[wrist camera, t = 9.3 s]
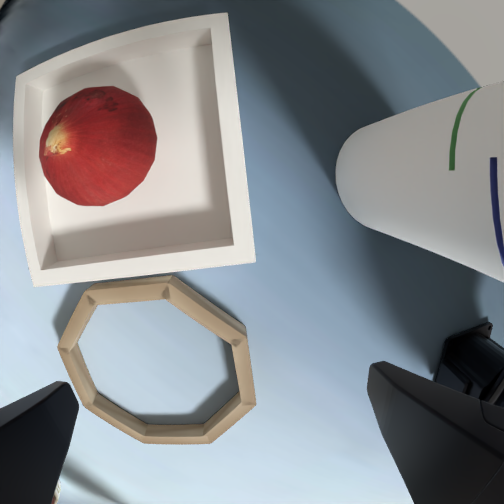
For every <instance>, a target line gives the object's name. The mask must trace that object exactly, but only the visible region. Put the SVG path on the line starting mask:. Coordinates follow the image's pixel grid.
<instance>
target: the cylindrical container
mask: <svg viewBox="0 0 504 504" xmlns="http://www.w3.org/2000/svg"><path fill="white" fill-rule="evenodd" d="M335 174H336V185H337V189H338V193H339V196H340V198H341V201H342V203H343V205H344V206H345V208H346V209H347V211H348V212H349V213H350V215H351V216H352V217H353V218H354V219H355V220H356V221H358V222H359V223H361V224H362V225H364V226H366V227H368V228H371V229H374V230H376V231H379V232H382V233H385V234H387V235H390V236H393V237H395V238H398V239H401V240H403V241H406V242H409V243H411V244H414V245H416V246H419V247H421V248H424V249H427V250H429V251H432V252H434V253H437V254H439V255H441V256H444V257H446V258H449V259H451V260H454V261H456V262H458V263H461V264H463V265H465V266H468V267H470V268H472V269H475V270H477V271H479V272H482V273H484V274H486V275H488V276H491V277H493V278H495V279H497V280H499V281H502V282H504V81H503V82H498V83H495V84H491V85H487V86H484V87H481V88H476V89H473V90H470V91H466V92H463V93H460V94H456V95H453V96H450V97H447V98H444V99H441V100H437V101H434V102H431V103H428V104H425V105H422V106H420V107H417V108H414V109H411V110H408V111H405V112H402V113H400V114H397V115H394V116H391V117H389V118H386V119H383V120H381V121H378V122H376V123H373V124H370V125H368V126H365V127H363V128H360V129H358V130H357V131H356V132H354V133H353V134H351V136H350V137H349V138H348V139H347V140H346V141H345V143H344V144H343V146H342V148H341V150H340V152H339V155H338V159H337V162H336V171H335Z"/></svg>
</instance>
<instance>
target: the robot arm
mask: <svg viewBox="0 0 504 504" xmlns="http://www.w3.org/2000/svg"><path fill="white" fill-rule="evenodd" d="M492 327H493V324H492V323H490V322H487V323H484V324H482V325H479V326H477V327H474V328H472V329H469V330H467V331H464V332H461V333H459V334H456V335H453V336H450V337H448V338H447V339H446V341H445V345H444V349H443V354H442V358H441V363H440V367H439V371H438V375H437V379H436V382H433V381H431V380H428V379H426V378H424V377H421V376H419V375H416V374H414V373H411V372H409V371H407V370H404V369H402V368H400V367H397V366H395V365H393V364H390V363H388V362H386V361H381V362H377V363H373V364H371V365H370V368H369V375H368V383H367V392H368V396H369V398H370V401H371V404H372V407H373V410H374V413H375V416H376V419H377V422H378V425H379V428H380V430H381V433H382V436H383V438H384V440H385V442H386V444H387V446H388V448H389V450H390V453H391V455H392V457H393V459H394V461H395V463H396V465H397V467H398V469H399V472H400V474H401V476H402V478H403V480H404V482H405V484H406V487H407V489H408V491H409V493H410V495H411V498H412V500H413V502H414V504H504V348H503V347H502V346H500V345H499V344H498V343H496V342H495V341H493V340H492V339H491V338H490V335H491V331H492ZM78 410H79V404H78V401H77V399H76V397H75V394H74V392H73V390H72V388H71V386H70V384H69V383H67V382H62V381H56V382H54V383H52V384H50V385H48V386H46V387H44V388H42V389H40V390H38V391H36V392H34V393H32V394H30V395H28V396H26V397H23V398H21V399H19V400H17V401H15V402H13V403H11V404H9V405H7V406H5V407H3V408H0V504H52V500H53V497H54V493H55V490H56V486H57V483H58V480H59V477H60V473H61V470H62V467H63V464H64V461H65V458H66V455H67V452H68V449H69V446H70V442H71V438H72V434H73V430H74V426H75V422H76V418H77V414H78Z"/></svg>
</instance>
